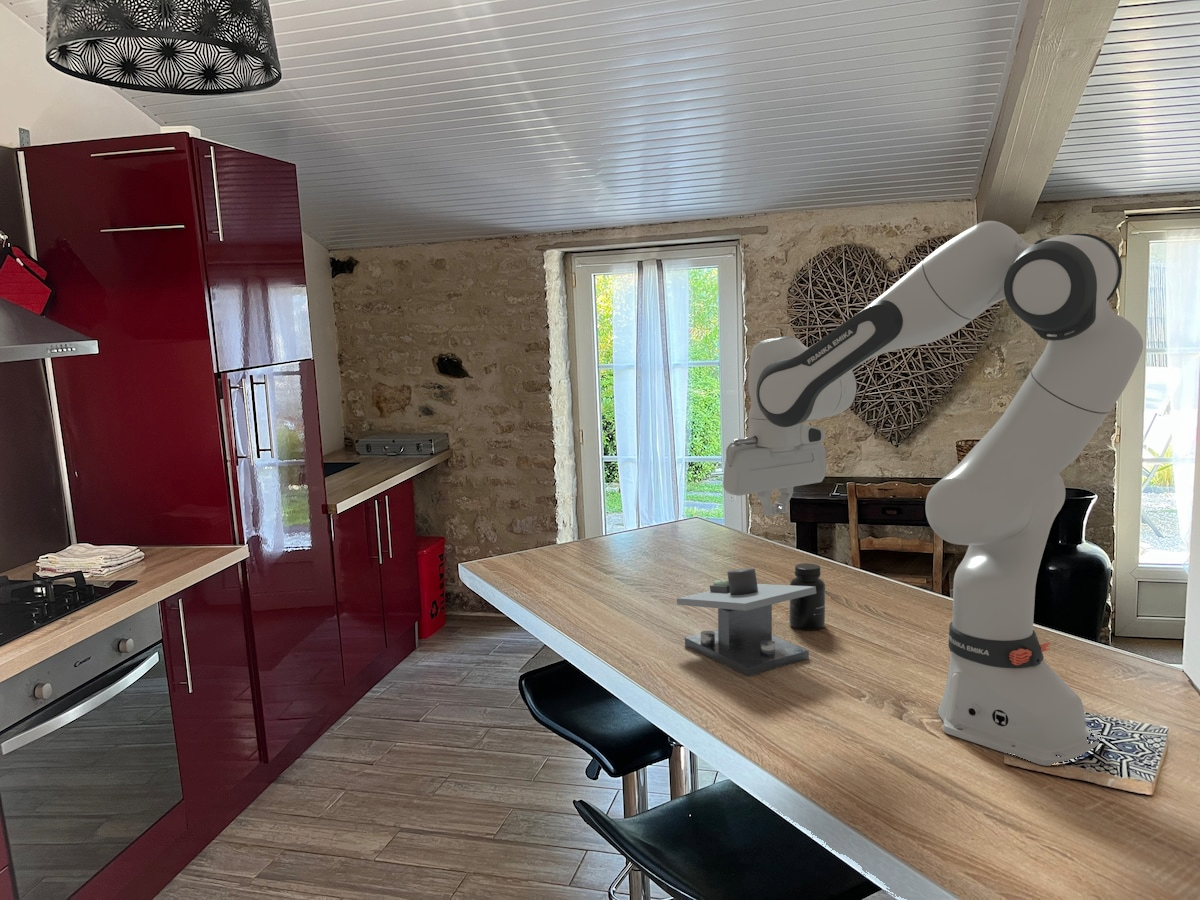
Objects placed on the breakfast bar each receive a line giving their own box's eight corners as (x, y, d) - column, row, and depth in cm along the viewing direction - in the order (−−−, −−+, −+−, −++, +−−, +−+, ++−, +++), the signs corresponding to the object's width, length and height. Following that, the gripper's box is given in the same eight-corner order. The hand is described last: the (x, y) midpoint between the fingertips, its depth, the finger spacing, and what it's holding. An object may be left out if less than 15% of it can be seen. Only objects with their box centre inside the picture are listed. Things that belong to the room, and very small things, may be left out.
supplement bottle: (825, 632, 179) (826, 571, 177) (789, 630, 180) (789, 570, 178) (824, 620, 185) (824, 561, 183) (789, 619, 187) (789, 561, 185)
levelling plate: (817, 596, 163) (812, 563, 164) (746, 614, 155) (741, 579, 155) (744, 592, 181) (740, 562, 181) (677, 607, 173) (673, 576, 173)
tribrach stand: (808, 658, 165) (809, 610, 164) (747, 676, 158) (747, 625, 157) (743, 630, 181) (742, 585, 179) (684, 645, 174) (684, 599, 172)
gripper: (739, 442, 149) (740, 526, 151) (832, 430, 159) (831, 509, 161) (714, 438, 154) (715, 519, 156) (806, 426, 164) (806, 503, 166)
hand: (775, 514), depth 159 cm, fingers closed
